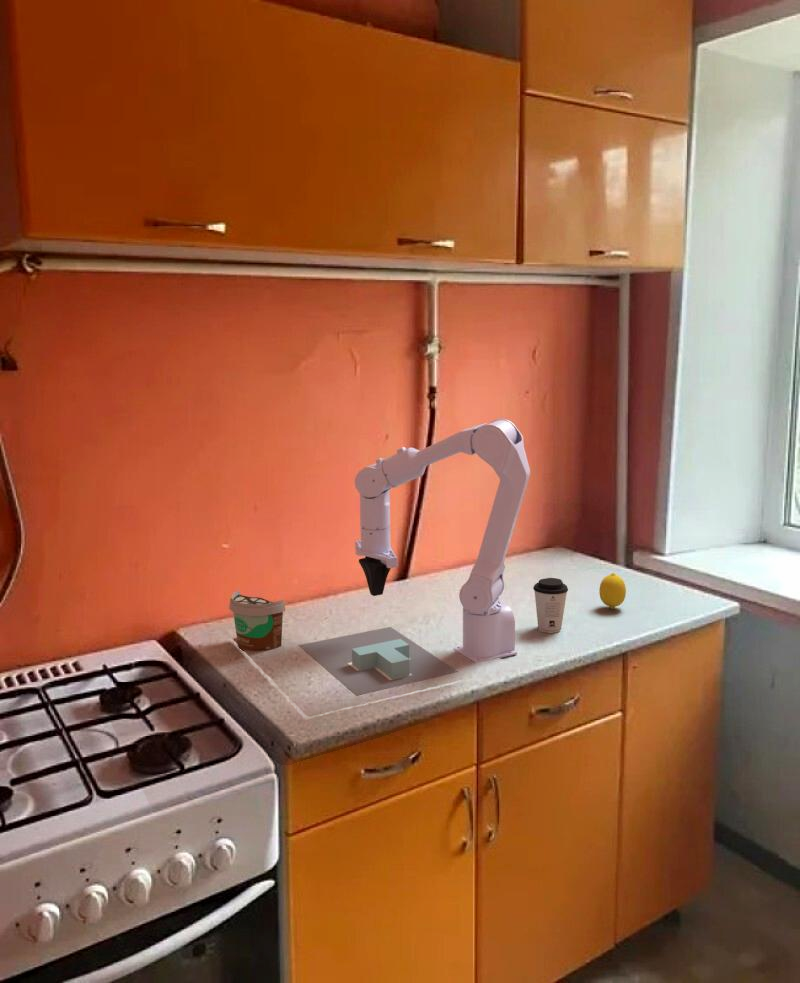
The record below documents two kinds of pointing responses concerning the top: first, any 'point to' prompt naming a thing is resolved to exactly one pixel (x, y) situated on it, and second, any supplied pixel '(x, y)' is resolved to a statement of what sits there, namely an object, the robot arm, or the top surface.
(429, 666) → the mat
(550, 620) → the coffee cup
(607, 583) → the lemon
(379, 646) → the t block
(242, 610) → the food container
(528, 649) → the top surface
